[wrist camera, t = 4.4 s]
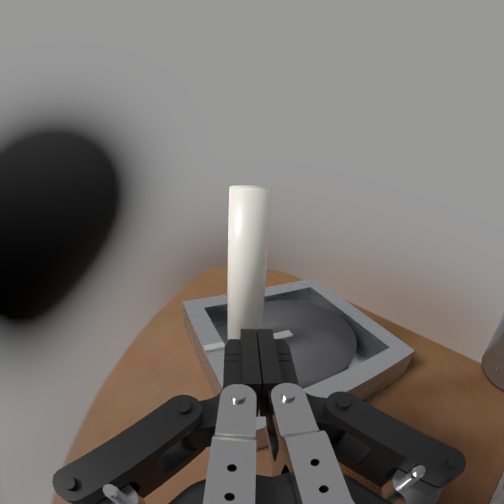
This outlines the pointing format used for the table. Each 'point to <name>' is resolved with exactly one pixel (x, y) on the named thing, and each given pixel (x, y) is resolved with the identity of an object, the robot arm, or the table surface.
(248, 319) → the lever
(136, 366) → the table surface
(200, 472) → the table surface
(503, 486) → the coffee box
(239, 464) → the robot arm
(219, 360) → the grey square frame
